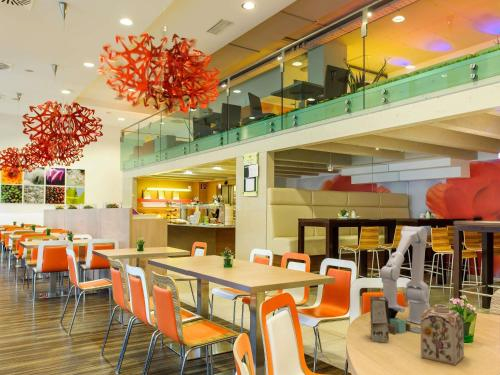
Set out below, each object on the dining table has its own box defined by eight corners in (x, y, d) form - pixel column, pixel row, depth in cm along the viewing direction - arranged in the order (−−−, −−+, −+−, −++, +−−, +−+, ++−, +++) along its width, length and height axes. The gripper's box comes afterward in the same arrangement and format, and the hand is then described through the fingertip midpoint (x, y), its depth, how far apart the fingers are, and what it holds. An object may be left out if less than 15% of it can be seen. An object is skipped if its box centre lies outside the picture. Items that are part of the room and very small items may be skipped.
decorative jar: (430, 349, 159) (429, 300, 160) (464, 356, 152) (463, 305, 153) (420, 358, 150) (419, 306, 151) (455, 366, 143) (454, 311, 143)
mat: (416, 327, 188) (416, 326, 188) (429, 331, 182) (429, 330, 182) (404, 329, 185) (404, 328, 185) (418, 333, 179) (418, 333, 179)
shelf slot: (394, 326, 190) (394, 319, 191) (410, 331, 182) (410, 324, 183) (377, 329, 186) (377, 322, 186) (393, 334, 178) (393, 327, 178)
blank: (396, 329, 185) (396, 317, 186) (405, 332, 181) (405, 320, 181) (389, 330, 183) (389, 318, 184) (399, 333, 179) (398, 321, 179)
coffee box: (389, 342, 167) (388, 301, 168) (372, 341, 168) (371, 300, 169) (386, 336, 176) (386, 296, 176) (370, 335, 177) (370, 295, 178)
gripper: (371, 292, 191) (371, 322, 190) (396, 298, 178) (396, 331, 178) (382, 290, 194) (383, 320, 194) (408, 296, 182) (408, 328, 181)
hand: (390, 325), depth 186 cm, fingers closed
